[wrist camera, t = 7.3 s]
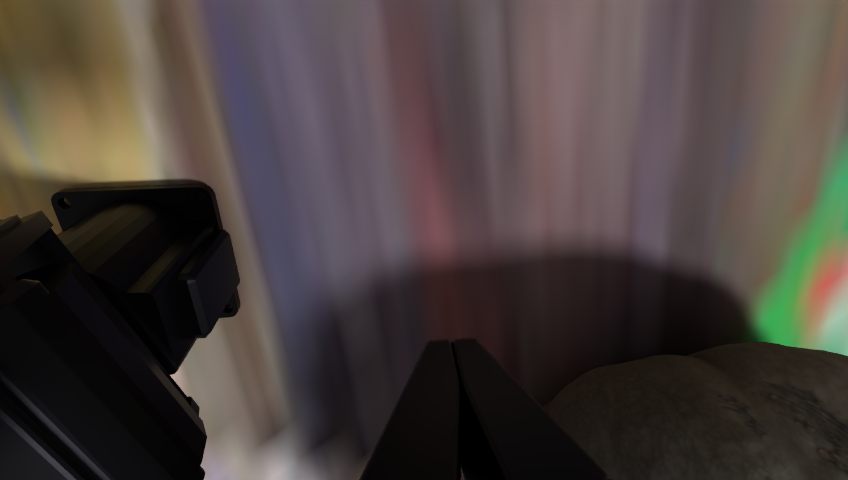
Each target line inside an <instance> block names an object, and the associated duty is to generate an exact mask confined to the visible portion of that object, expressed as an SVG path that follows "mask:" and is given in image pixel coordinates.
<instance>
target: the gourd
mask: <svg viewBox="0 0 848 480" xmlns="http://www.w3.org/2000/svg"><path fill="white" fill-rule="evenodd" d="M543 408H544V409H545V410H546V411H547V412H548V413H549V414H550V415H551V416H552V417H553V418H554V419H555V420H556V421H557V423H558V424H559V425H560V426H561V427H562V428H563V429H564V430H565V431H566V432H567V433H568V434H569V435H570V436H571V437H572V438H573V439H574V440H575V441H576V442H577V443H578V444H579V445H580V446H581V447H582V448H583V449H584V450H585V451H586V452H587V453H588V454H589V455H590V456H591V457H592V459H593V460H594V461H595V462H596V463H597V464H598V465H599V466H600V467H601V468H602V469H603V470H604V471H605V472H606V473H607V474H608V479H609V478H611V479H613V480H848V356H845V355H841V354H837V353H832V352H827V351H823V350H812V349H805V348H797V347H790V346H784V345H780V344H774V343H767V342H751V343H733V344H726V345H720V346H716V347H713V348H710V349H707V350H703V351H699V352H695V353H692V354H690V355H687V356H680V355H655V356H650V357H647V358H643V359H639V360H633V361H628V362H625V363H619V364H614V365H607V366H602V367H598V368H595V369H592V370H590V371H588V372H586V373H584V374H582V375H581V376H579V377H578V378H577V379H575V380H573V381H572V382H570V383H569V384H568V385H566V386H565V387H564V388H563V389H562V390H561V391H559V393H558V394H557V395H556V396H555V397H554V399H553V400H552V402H549V403H548V404H546V405H545V406H543Z"/></svg>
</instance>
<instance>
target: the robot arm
mask: <svg viewBox="0 0 848 480" xmlns="http://www.w3.org/2000/svg"><path fill="white" fill-rule="evenodd" d="M197 193H202V194H203V195H205V197H206V200H205V201H204V200H201V199H199V198H198V196H197ZM64 198H66V199H67V200H69V201H70V203H71V205H68V204H67V203H66V202H65V201H64ZM51 202H52V205H53V208H54V211H55V213H56V216H57V218H58V221H59V223H60V226H61V228H62V231H63V232H61V233H60V234H58V235H56V234H55V233H54V232H53V230H52V229H51V227H52V226H53V224H52V223H51V222H50V221H49V219H48V218H47V217H46V216H45V214H44V213H43V212H42V211H39V212H36V213H34V214H31V215H29V216H26V217H24V218H21V219H20V218H19V217H18V215H15V216H12V217H10V218H7V219H4V220H0V480H204V476H205V471H204V470H203V468H202V467H201V466H200V465H201V462H202V459H203V454H204V449H205V444H206V439H207V435H206V432H205V428H204V424H203V421H202V420H201V418H200V417H199V406H198V405H197V404H196V402H195V401H194V400H193V399H192V397H187V396H186V395H185V394H184V392H183V391H182V390H181V389H180V387H179V386H178V385H177V384H176V382H175V381H174V380H173V379H172V378H171V376H170V375H171V374H175V373H176V372H177V370H178V369H179V367H180V365H181V364H182V362H183V361H184V359H185V357H186V356H187V354H188V352H189V351H190V349H191V347H192V346H193V344H194V343H195V341H196V339H197V338H206V337H207V336H208V335H209V333H210V332H211V331H212V329H213V327H214V326H215V324H216V322H217V321H218V319H219V318H225V317H233V316H235V315H236V314H237V312H238V310H239V308H240V300H239V295H238V291H237V286H238V284H239V283H240V278H239V273H238V269H237V265H236V260H235V256H234V251H233V247H232V243H231V238H230V234H229V233H228V232H227V231H225V230H224V229H223V226H222V222H221V217H220V213H219V209H218V205H217V200H216V196H215V193H214V191H213V189H212V188H211V187H209V186H207V185H205V184H181V185H154V186H127V187H100V188H73V189H63V190H60V191H59V192H57V193H55V194H54V195H53V196H52V199H51ZM227 304H229V305H231V306H232V308H227V307H226V305H227ZM461 472H462V477H463V480H613V479H611V478H609V479H608V474H607V473H606V472H605V471H604V470H603V469H602V468H601V467H600V466H599V465H598V464H597V463H596V462H595V461H594V460H593V459H592V457H591V456H590V455H589V454H588V453H587V452H586V451H585V450H584V449H583V448H582V447H581V446H580V445H579V444H578V443H577V442H576V441H575V440H574V439H573V438H572V437H571V436H570V435H569V434H568V433H567V432H566V431H565V430H564V429H563V428H562V427H561V426H560V425H559V424H558V423H557V421H556V420H555V419H554V418H553V417H552V416H551V415H550V414H549V413H548V412H547V411H546V410H545V409H544V408H543V407H542V406H541V405H540V404H539V403H538V402H537V401H536V400H535V399H534V398H533V397H532V396H531V395H530V394H529V393H528V392H527V391H526V390H525V389H524V388H523V387H522V385H521V384H520V383H519V382H518V381H517V380H516V379H515V378H514V377H513V376H512V375H511V374H510V373H509V372H508V371H507V370H506V369H505V368H504V367H503V366H502V365H501V364H500V363H499V362H498V361H497V360H496V359H495V358H494V357H493V356H492V355H491V354H490V353H489V352H488V351H487V350H486V348H485V347H484V346H483V345H482V344H481V343H480V342H479V341H478V340H477V339H475V338H462V339H454V340H453V341H452V343H451V341H450V340H448V339H445V340H430V341H428V342H427V343H426V345H425V347H424V349H423V351H422V353H421V355H420V357H419V359H418V361H417V363H416V365H415V367H414V369H413V371H412V373H411V375H410V377H409V379H408V381H407V383H406V385H405V387H404V389H403V392H402V394H401V396H400V398H399V400H398V402H397V404H396V406H395V408H394V410H393V412H392V414H391V416H390V418H389V420H388V422H387V424H386V426H385V428H384V430H383V432H382V434H381V436H380V438H379V441H378V443H377V445H376V447H375V449H374V451H373V453H372V455H371V457H370V459H369V461H368V463H367V465H366V467H365V469H364V471H363V473H362V475H361V477H360V479H359V480H461Z"/></svg>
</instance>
